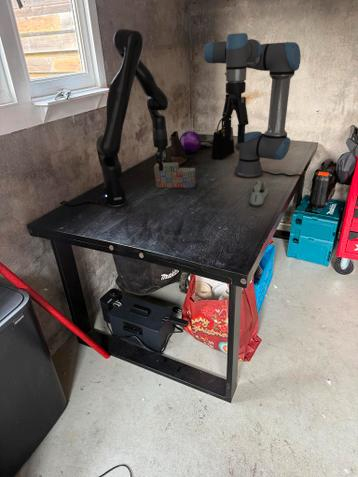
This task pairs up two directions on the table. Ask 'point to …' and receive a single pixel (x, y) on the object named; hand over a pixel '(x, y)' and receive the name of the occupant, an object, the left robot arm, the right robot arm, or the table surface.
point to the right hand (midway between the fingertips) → (233, 139)
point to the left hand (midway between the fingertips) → (162, 168)
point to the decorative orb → (190, 142)
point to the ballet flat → (258, 193)
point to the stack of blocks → (174, 176)
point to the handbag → (222, 143)
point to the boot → (177, 149)
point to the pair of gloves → (207, 141)
